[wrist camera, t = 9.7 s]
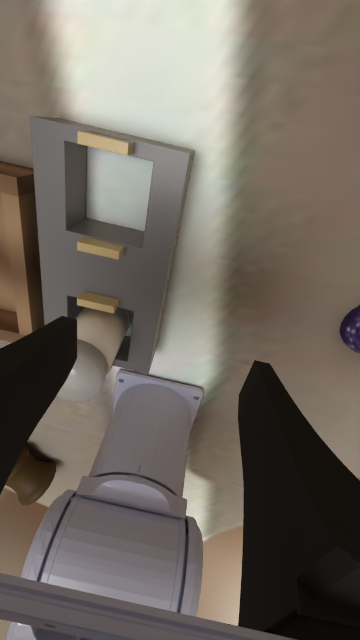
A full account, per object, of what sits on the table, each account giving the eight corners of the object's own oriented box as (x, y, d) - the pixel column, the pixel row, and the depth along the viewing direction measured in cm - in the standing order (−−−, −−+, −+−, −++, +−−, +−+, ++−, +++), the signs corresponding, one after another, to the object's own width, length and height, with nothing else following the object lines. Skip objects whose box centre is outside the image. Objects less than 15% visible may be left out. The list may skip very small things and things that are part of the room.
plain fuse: (132, 332, 24) (98, 407, 18) (89, 322, 24) (40, 394, 18) (136, 294, 22) (101, 363, 16) (90, 284, 22) (35, 348, 16)
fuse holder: (155, 349, 25) (145, 382, 22) (64, 328, 25) (39, 358, 22) (194, 150, 17) (188, 154, 14) (58, 118, 17) (17, 114, 14)
